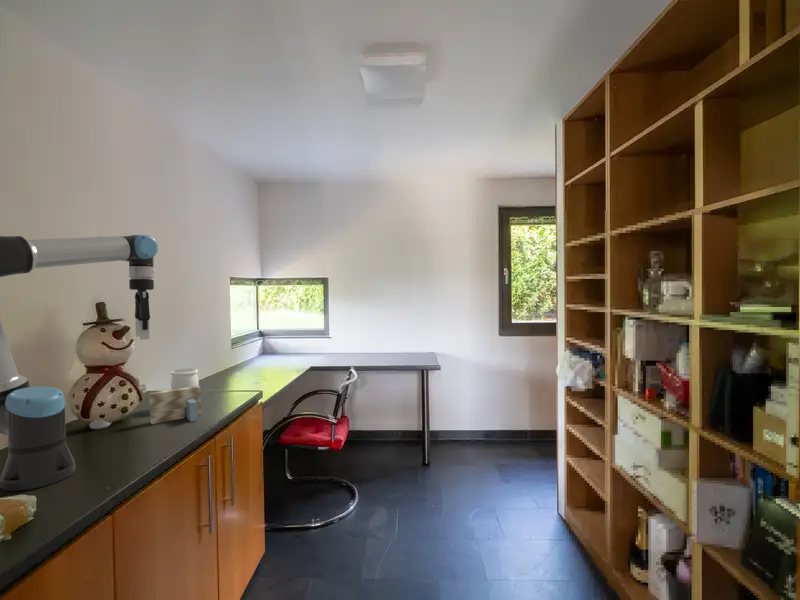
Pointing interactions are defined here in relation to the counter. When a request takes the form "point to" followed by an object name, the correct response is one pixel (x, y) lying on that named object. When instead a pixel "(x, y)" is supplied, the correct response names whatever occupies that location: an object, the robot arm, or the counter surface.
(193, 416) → the blue board
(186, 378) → the jar
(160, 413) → the birch plate
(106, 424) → the beverage can
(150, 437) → the counter surface
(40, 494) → the counter surface
